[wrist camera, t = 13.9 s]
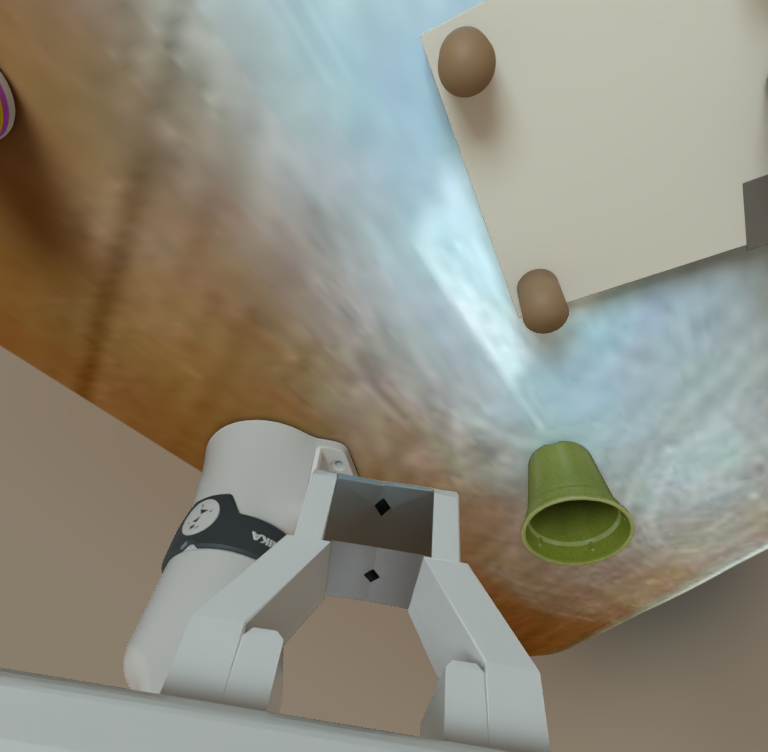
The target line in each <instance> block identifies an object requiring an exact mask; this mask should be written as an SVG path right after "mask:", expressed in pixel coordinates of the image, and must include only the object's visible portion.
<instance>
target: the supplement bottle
mask: <svg viewBox="0 0 768 752" xmlns="http://www.w3.org/2000/svg"><path fill="white" fill-rule="evenodd" d="M14 120H15V103H14V99H13V95H12V92H11V89H10V87H9V85H8V83H7V81H6V79H5V78H4V76H3V74H2V73H1V71H0V139H1V138H3V137H4V136H6V135H7V134H8V133H9V131H10V130H11V128H12V126H13V124H14Z"/></svg>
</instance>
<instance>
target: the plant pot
mask: <svg viewBox="0 0 768 752" xmlns="http://www.w3.org/2000/svg"><path fill="white" fill-rule="evenodd" d="M634 529H635V526H634V521H633V518H632V516H631V515H630V513H629V512H628V511H627V509H625V508H624V507H623V506H622V505H620V504H619V502H618V501H617V500H616V499H615V498H614V497H613V496H612V494H611V492H610V490H609V488H608V486H607V485H606V483H605V481H604V479H603V477H602V475H601V473H600V472H599V470H598V468H597V466H596V464H595V462H594V460H593V458H592V456H591V455H590V453H589V452H588V450H587V449H586V448H584V447H583V446H581V445H579V444H577V443H573V442H567V441H561V442H558V443H556V444H552V445H544V446H542V447H540V448H539V449H537V450H536V451H535V452H534V453H533V455H532V456H531V458H530V460H529V465H528V510H527V513H526V518H525V520H524V522H523V524H522V529H521V536H522V541H523V543H524V545H525V547H526V548H527V549H528V550H529V551H530V552H531V553H532V554H533V555H535V556H537V557H538V558H540V559H542V560H545V561H548V562H552V563H556V564H562V565H585V564H591V563H596V562H599V561H602V560H604V559H607V558H610V557H612V556H614V555H616V554H617V553H619V552H620V551H622V549H623V548H625V547H626V546H627V545H628V544H629V542H630V540H631V539H632V537H633V535H634Z"/></svg>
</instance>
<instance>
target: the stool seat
mask: <svg viewBox="0 0 768 752" xmlns="http://www.w3.org/2000/svg"><path fill="white" fill-rule="evenodd" d="M420 39H421V42H422V44H423V47H424V50H425V53H426V56H427V59H428V61H429V64H430V67H431V70H432V73H433V76H434V79H435V81H436V84H437V87H438V90H439V93H440V96H441V98H442V101H443V104H444V107H445V110H446V113H447V116H448V118H449V121H450V124H451V127H452V130H453V133H454V135H455V138H456V141H457V144H458V147H459V150H460V153H461V155H462V158H463V161H464V164H465V167H466V170H467V172H468V175H469V178H470V181H471V184H472V187H473V190H474V192H475V195H476V198H477V201H478V204H479V207H480V209H481V212H482V215H483V218H484V221H485V224H486V227H487V229H488V232H489V235H490V238H491V241H492V244H493V246H494V249H495V252H496V255H497V258H498V261H499V264H500V266H501V269H502V272H503V275H504V278H505V281H506V283H507V286H508V289H509V292H510V295H511V298H512V301H513V303H514V306H515V309H516V312H517V315H518V318H520V317H523V321H524V323H525V325H526V326H527V328H529V329H530V330H531V331H533V332H536V333H550V332H553V331H555V330H557V329H559V328H560V327H561V326H562V325H563V324H564V323H565V322H566V320H567V318H568V314H569V309H568V306H567V302H570V301H573V300H576V299H579V298H582V297H585V296H588V295H592V294H595V293H598V292H601V291H604V290H607V289H610V288H613V287H616V286H619V285H623V284H626V283H629V282H632V281H635V280H638V279H641V278H644V277H647V276H651V275H654V274H657V273H660V272H663V271H666V270H669V269H672V268H675V267H679V266H682V265H685V264H688V263H691V262H694V261H697V260H700V259H703V258H707V257H710V256H713V255H716V254H719V253H722V252H725V251H728V250H731V249H735V248H738V247H741V246H744V245H747V250H751V249H754V248H757V247H760V246H763V245H766V244H768V84H767V78H768V0H484V1H482V2H480V3H478V4H476V5H475V6H473V7H471V8H469V9H467V10H465V11H463V12H461V13H460V14H458V15H456V16H454V17H452V18H450V19H448V20H446V21H445V22H443V23H441V24H439V25H437V26H435V27H433V28H431V29H430V30H428V31H426V32H424V33H422V34H421V36H420Z"/></svg>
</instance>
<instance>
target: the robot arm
mask: <svg viewBox="0 0 768 752" xmlns="http://www.w3.org/2000/svg"><path fill="white" fill-rule="evenodd" d="M339 461H341V462H339ZM325 596H333V597H340V598H348V599H356V600H363V601H369V602H374V603H379V604H384V605H390V606H395V607H400V608H405V609H408V613H409V615H410V617H411V619H412V621H413V624H414V626H415V628H416V631H417V632H418V635H419V637H420V639H421V642H422V644H423V646H424V648H425V651H426V653H427V655H428V657H429V660H430V662H431V664H432V666H433V668H434V671H435V673H436V675H437V677H438V679H439V683H438V685H437V687H436V690H435V692H434V694H433V696H432V699H431V701H430V703H429V706H428V708H427V710H426V712H425V714H424V717H423V719H422V721H421V728H420V737H419V736H413V735H406V734H401V733H395V732H389V731H383V730H376V729H370V728H364V727H358V726H352V725H346V724H340V723H334V722H328V721H322V720H315V719H309V718H304V717H298V716H292V715H285V714H279V713H280V708H281V704H282V691H283V690H282V689H283V646H284V645H285V644H286V643H287V641H288V640H289V639H290V638H291V637H292V636H293V634H294V633H295V632H296V631H297V630H298V629H299V628H300V626H301V625H302V624H303V623H304V622H305V621H306V619H307V618H308V617H309V616H310V615H311V614H312V613H313V611H314V610H315V609H316V608H317V607H318V606H319V604H320V603H321V602H322V601H323V600H324V598H325ZM123 668H124V674H125V678H126V681H127V683H128V685H129V687H130V689H127V688H121V687H114V686H108V685H102V684H97V683H91V682H84V681H78V680H72V679H66V678H60V677H54V676H48V675H42V674H36V673H30V672H23V671H18V670H12V669H6V668H0V752H550V746H549V738H548V730H547V723H546V715H545V708H544V700H543V692H542V685H541V677H540V672H539V670H538V669H537V667H536V666H535V664H534V663H533V661H532V660H531V658H530V657H529V655H528V654H527V652H526V651H525V649H524V648H523V646H522V645H521V643H520V642H519V640H518V639H517V637H516V636H515V634H514V633H513V631H512V630H511V628H510V627H509V625H508V624H507V622H506V621H505V619H504V618H503V616H502V615H501V613H500V612H499V610H498V609H497V607H496V606H495V604H494V603H493V601H492V600H491V598H490V597H489V595H488V594H487V592H486V590H485V589H484V587H483V586H482V584H481V583H480V581H479V580H478V578H477V577H476V575H475V574H474V572H473V571H472V569H471V568H470V566H469V565H468V564H466V563H461V562H460V521H459V496H458V494H457V492H452V491H445V490H439V489H432V488H428V487H422V486H415V485H408V484H402V483H395V482H388V481H385V482H384V481H379V480H373V479H368V478H363V477H359V476H358V474H357V471H356V469H355V466H354V463H353V461H352V458H351V456H350V453H349V450H348V449H347V447H346V446H345V445H343V444H341V443H339V442H335V441H331V440H325V439H319V438H315V437H313V436H310V435H308V434H306V433H304V432H302V431H300V430H298V429H296V428H293V427H291V426H288V425H285V424H281V423H277V422H273V421H265V420H247V421H240V422H236V423H233V424H230V425H227V426H225V427H223V428H222V429H220V430H219V431H217V432H216V433H215V434H214V435H213V436H212V438H211V439H210V441H209V442H208V445H207V448H206V454H205V461H204V466H203V471H202V475H201V479H200V482H199V485H198V489H197V492H196V495H195V498H194V502H193V505H192V508H191V510H190V511H189V513H188V514H187V516H186V517H185V519H184V520H183V522H182V524H181V526H180V527H179V529H178V530H177V532H176V535H175V537H174V539H173V541H172V543H171V545H170V547H169V549H168V551H167V554H166V556H165V558H164V560H163V563H162V576H161V578H160V580H159V582H158V584H157V586H156V588H155V590H154V592H153V594H152V596H151V598H150V600H149V603H148V604H147V606H146V609H145V610H144V612H143V614H142V616H141V619H140V621H139V623H138V625H137V627H136V629H135V631H134V633H133V635H132V637H131V639H130V641H129V643H128V646H127V648H126V651H125V655H124V661H123Z"/></svg>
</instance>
